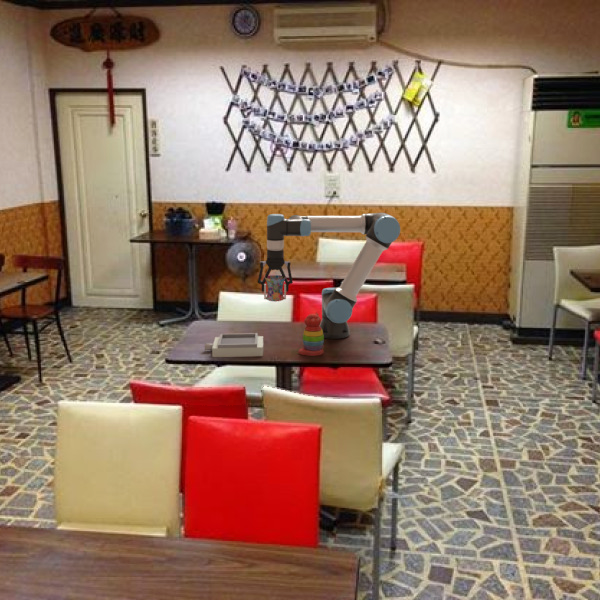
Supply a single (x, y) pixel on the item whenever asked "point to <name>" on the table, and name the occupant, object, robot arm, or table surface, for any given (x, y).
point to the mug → (275, 288)
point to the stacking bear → (312, 336)
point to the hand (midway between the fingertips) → (275, 298)
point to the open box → (236, 345)
